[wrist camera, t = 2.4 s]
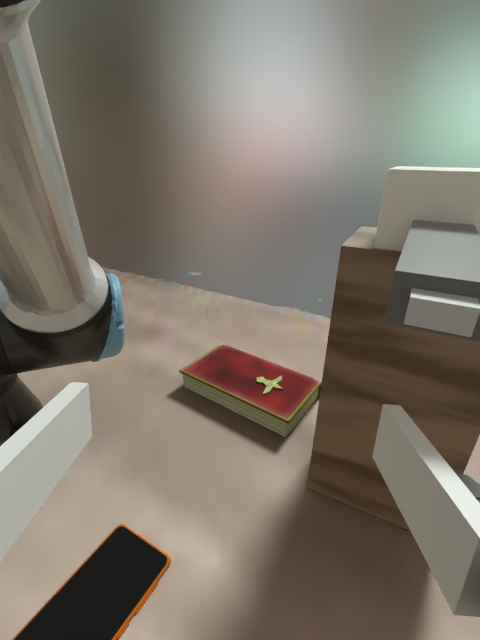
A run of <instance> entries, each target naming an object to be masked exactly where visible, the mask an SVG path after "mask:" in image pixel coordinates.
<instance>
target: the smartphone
mask: <svg viewBox="0 0 480 640" xmlns="http://www.w3.org/2000/svg"><path fill="white" fill-rule="evenodd" d="M170 563H171V559H170V557H169V556H168V555H167V554H165V553H164V552H162V551H161V550H160V549H158V548H157V547H155V546H154V545H152V544H151V543H150V542H148V541H147V540H145V539H144V538H142V537H141V536H140V535H138V534H137V533H135V532H134V531H132V530H131V529H130V528H128V527H127V526H125V525H123V524H122V525H118V526H117V527H116V528H115V529H114V530H113V531H112V532H111V533H110V535H109V536H108V537H107V538H106V539H105V540H104V541H103V542H102V543H101V544H100V545H99V546H98V548H97V549H96V550H95V551H94V552H93V553H92V554H91V555H90V556H89V557H88V558H87V559H86V560H85V562H84V563H83V564H82V565H81V566H80V567H79V568H78V569H77V570H76V571H75V572H74V573H73V575H72V576H71V577H70V578H69V579H68V580H67V581H66V582H65V583H64V584H63V585H62V586H61V587H60V589H59V590H58V591H57V592H56V593H55V594H54V595H53V596H52V597H51V598H50V599H49V600H48V602H47V603H46V604H45V605H44V606H43V607H42V608H41V609H40V610H39V611H38V612H37V613H36V614H35V616H34V617H33V618H32V619H31V620H30V621H29V622H28V623H27V624H26V625H25V626H24V627H23V629H22V630H21V631H20V632H19V633H18V634H17V635H16V636H15V637H14V638H13V639H12V640H117V639H118V640H119V638H120V637H121V636H122V634H123V633H124V631H125V630H126V628H127V627H128V626H129V622H130V620H131V619H132V618H133V616H134V615H135V614H137V613H138V611H139V610H140V609H141V607H142V606H143V604H144V603H145V602H146V600H147V599H148V597H149V596H150V595H151V593H152V592H153V590H154V589H155V587H156V586H157V584H158V583H157V582H158V581H159V580H160V578H161V577H162V575H163V574H164V573H165V571H166V570H167V568H168V567H169V565H170Z"/></svg>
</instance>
